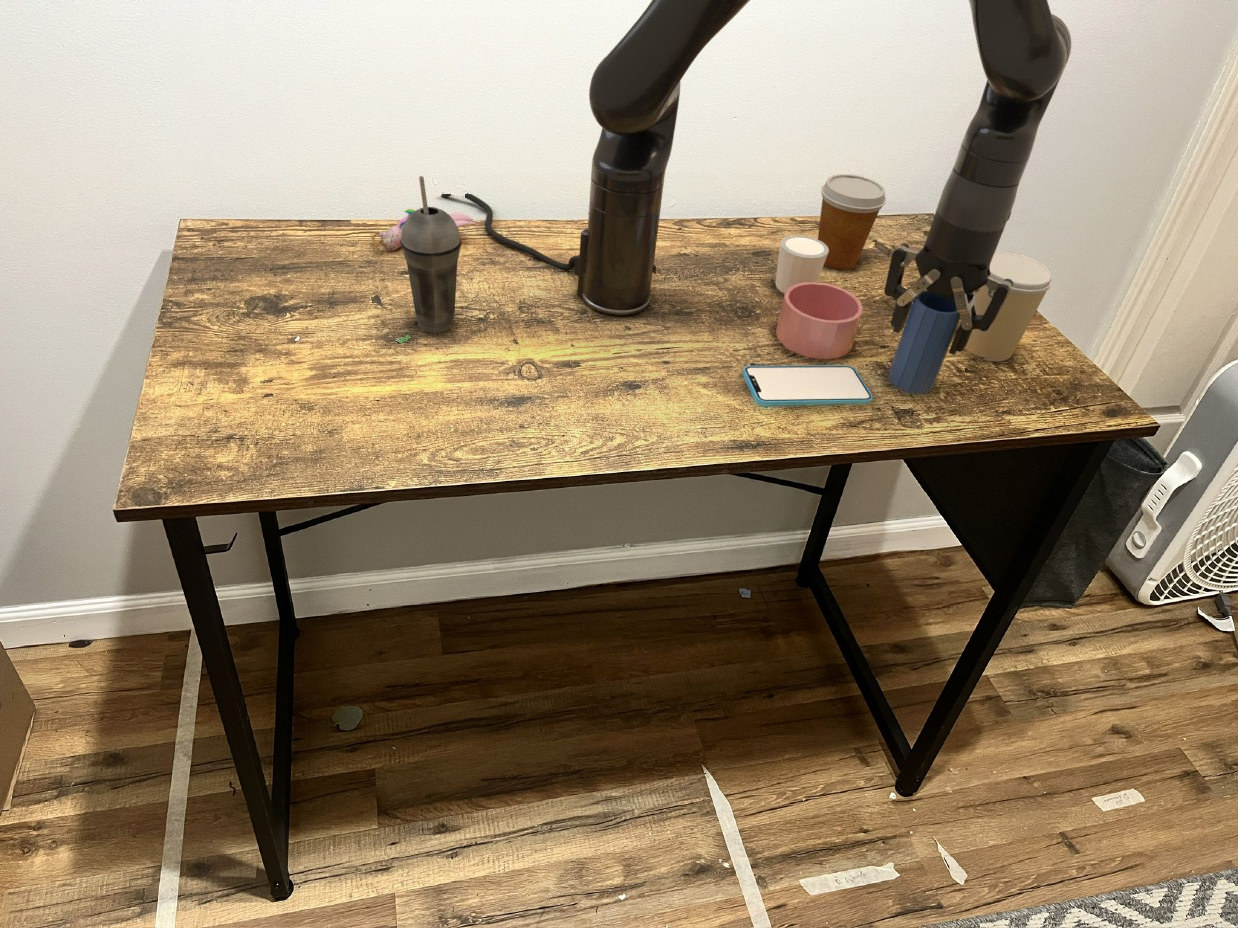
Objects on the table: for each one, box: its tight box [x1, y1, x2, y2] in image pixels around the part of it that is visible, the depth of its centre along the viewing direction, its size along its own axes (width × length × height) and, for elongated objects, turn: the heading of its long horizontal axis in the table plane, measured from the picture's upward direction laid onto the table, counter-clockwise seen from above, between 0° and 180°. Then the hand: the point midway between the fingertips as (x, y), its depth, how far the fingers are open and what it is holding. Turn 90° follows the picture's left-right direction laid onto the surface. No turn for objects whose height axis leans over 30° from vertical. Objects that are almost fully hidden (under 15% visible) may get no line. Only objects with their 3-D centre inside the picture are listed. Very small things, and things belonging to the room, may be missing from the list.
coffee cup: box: [958, 251, 1053, 362], centre depth 118 cm, size 9×9×12 cm
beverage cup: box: [400, 175, 463, 334], centre depth 108 cm, size 7×7×20 cm
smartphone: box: [742, 364, 874, 408], centre depth 110 cm, size 8×1×15 cm
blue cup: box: [887, 289, 961, 395], centre depth 110 cm, size 6×6×12 cm
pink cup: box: [775, 281, 864, 360], centre depth 117 cm, size 10×10×6 cm
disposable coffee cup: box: [817, 173, 887, 271], centre depth 134 cm, size 10×10×12 cm
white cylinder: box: [774, 234, 829, 294], centre depth 127 cm, size 7×7×7 cm
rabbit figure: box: [370, 208, 476, 253], centre depth 129 cm, size 6×6×15 cm
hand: (925, 340), depth 109 cm, fingers open, 6 cm apart
